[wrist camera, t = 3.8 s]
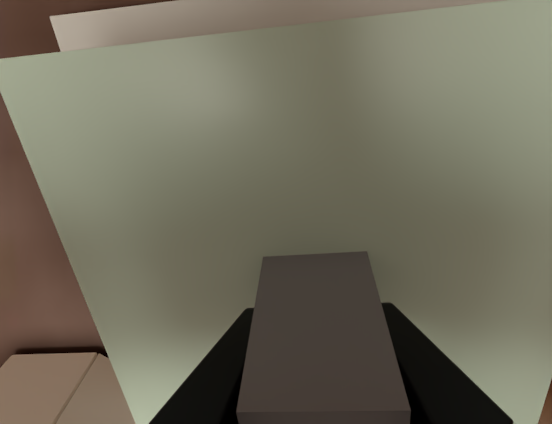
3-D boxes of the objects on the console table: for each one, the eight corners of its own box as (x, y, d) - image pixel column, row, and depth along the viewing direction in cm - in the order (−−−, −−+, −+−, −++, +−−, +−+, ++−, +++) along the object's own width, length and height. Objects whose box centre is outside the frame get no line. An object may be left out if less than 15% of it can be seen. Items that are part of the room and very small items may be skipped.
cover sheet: (633, -15, 7) (1185, -76, 3) (517, 422, 12) (635, 642, 8) (15, 57, 8) (-311, 96, 4) (153, 424, 13) (82, 615, 9)
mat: (572, -48, 10) (588, -52, 9) (492, 352, 16) (499, 364, 15) (61, 16, 11) (49, 16, 11) (169, 360, 17) (164, 371, 17)
